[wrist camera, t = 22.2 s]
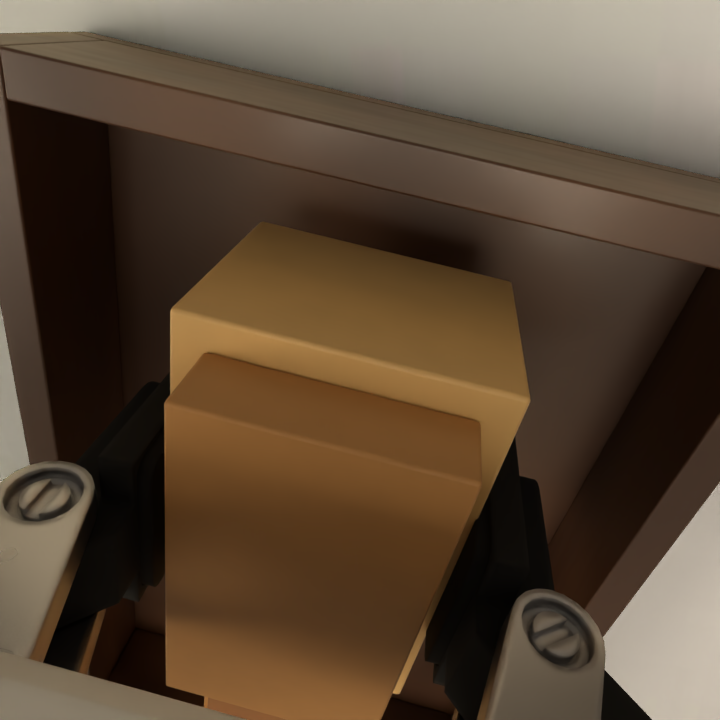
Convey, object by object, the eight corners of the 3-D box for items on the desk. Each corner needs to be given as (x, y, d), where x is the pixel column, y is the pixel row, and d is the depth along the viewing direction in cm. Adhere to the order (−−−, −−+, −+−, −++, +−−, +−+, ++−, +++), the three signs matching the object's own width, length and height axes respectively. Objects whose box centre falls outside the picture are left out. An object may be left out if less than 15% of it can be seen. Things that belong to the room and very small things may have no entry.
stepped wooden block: (234, 496, 14) (138, 692, 10) (260, 219, 10) (118, 355, 6) (415, 544, 14) (392, 765, 10) (513, 280, 10) (543, 464, 6)
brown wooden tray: (125, 619, 23) (74, 709, 20) (83, 30, 12) (-52, 33, 9) (466, 713, 23) (466, 820, 20) (776, 191, 11) (892, 254, 8)
